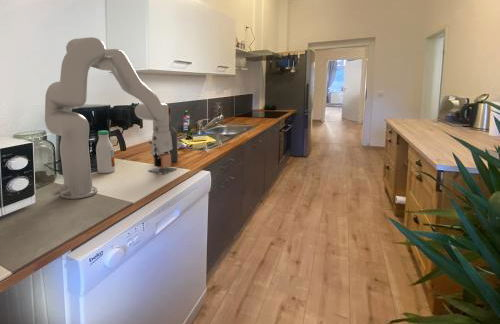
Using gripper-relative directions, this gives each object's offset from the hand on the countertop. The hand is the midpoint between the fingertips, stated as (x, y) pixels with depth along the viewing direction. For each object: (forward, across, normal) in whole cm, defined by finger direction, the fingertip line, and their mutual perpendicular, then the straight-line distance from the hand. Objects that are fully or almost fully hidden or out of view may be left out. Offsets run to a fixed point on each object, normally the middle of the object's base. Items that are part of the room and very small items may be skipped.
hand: (162, 164), depth 155 cm
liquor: (+4, +17, +10) cm, 20 cm away
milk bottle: (+3, -15, +22) cm, 27 cm away
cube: (+1, 0, 0) cm, 1 cm away
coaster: (+3, 0, 0) cm, 3 cm away
